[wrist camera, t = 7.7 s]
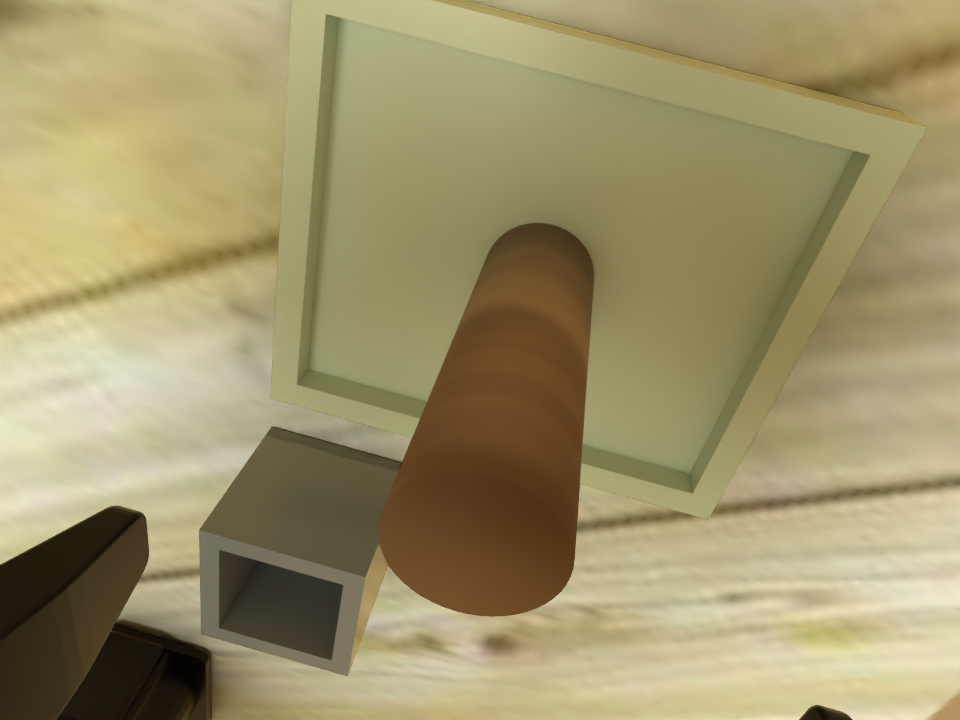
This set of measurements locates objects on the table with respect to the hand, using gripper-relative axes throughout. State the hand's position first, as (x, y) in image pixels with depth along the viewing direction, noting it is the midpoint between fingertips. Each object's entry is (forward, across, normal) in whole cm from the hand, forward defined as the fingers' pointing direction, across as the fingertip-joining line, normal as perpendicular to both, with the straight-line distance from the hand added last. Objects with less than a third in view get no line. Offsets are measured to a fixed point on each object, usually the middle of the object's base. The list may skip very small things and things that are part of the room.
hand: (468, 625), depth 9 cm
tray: (+12, 0, 0) cm, 12 cm away
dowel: (+11, 0, 0) cm, 11 cm away
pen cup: (+12, +5, +11) cm, 17 cm away
